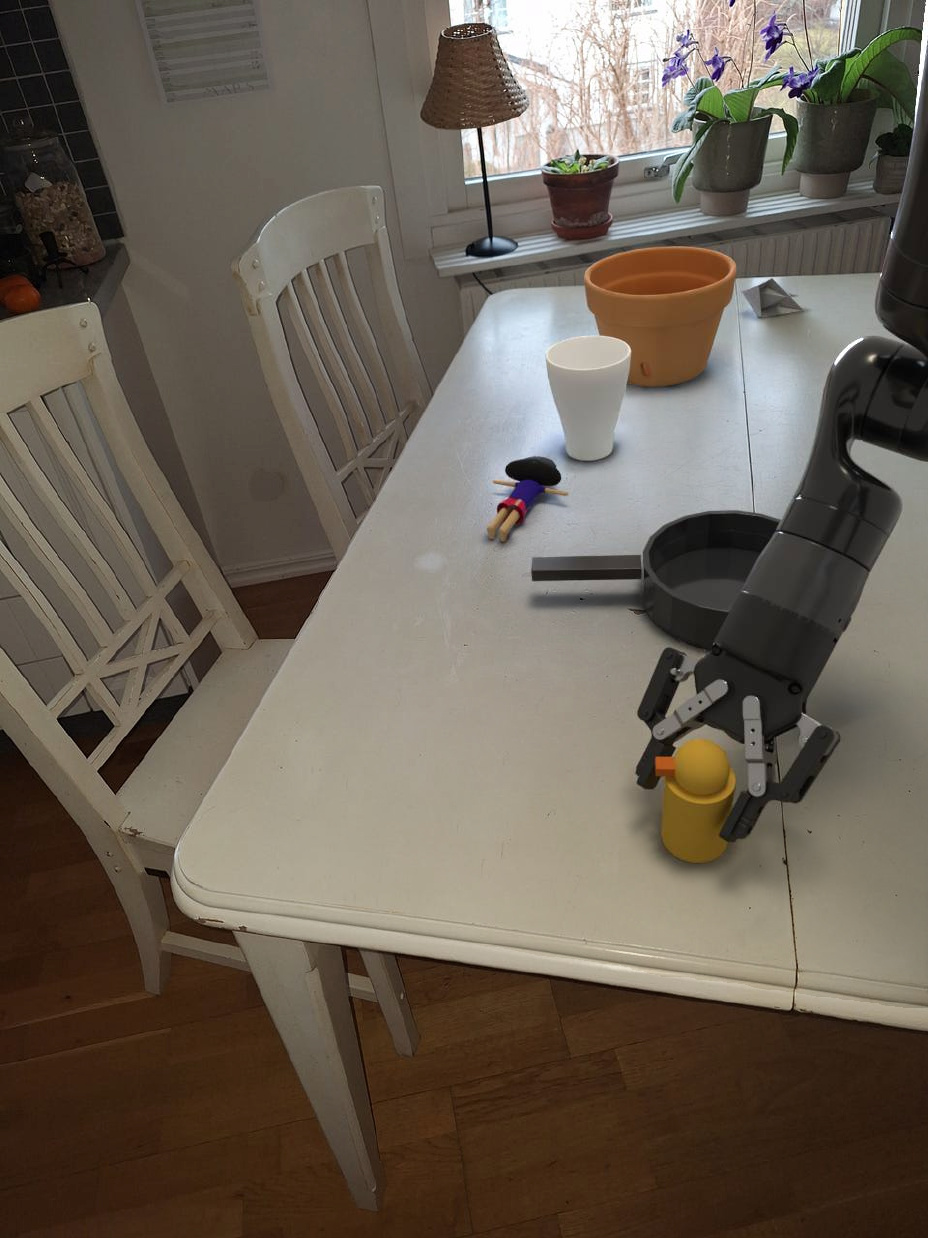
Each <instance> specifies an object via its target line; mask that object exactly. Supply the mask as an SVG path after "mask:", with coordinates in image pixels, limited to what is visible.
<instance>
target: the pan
mask: <svg viewBox="0 0 928 1238" xmlns="http://www.w3.org/2000/svg"><path fill="white" fill-rule="evenodd" d="M780 521H781V519H780V518H776V517H773V516H770V515H768V514H764V513H759V512H752V511H745V510H738V509H727V510H725V509H724V510H722V509H721V510H705V511H702V512H697V513H692V514H686V515H683V516H680V517H679V518H676V519H674V520H672V521H670V522H667V523H665V524H663V525H662V526H661V527H660V528H658V529H657V530H656V531H655V532H653V533H652V534H651V535H650V536H649V538H648V540H647V541H646V543H645V546H644V548H643V550H642V557H641V566H642V575H641V594H642V595H641V599H642V604H643V605H642V606H643V607H644V609H645V612H646V614H647V615H648V616H649V618H650V619H651V621H653V623H654V624H655V625H656V626H657V627H659V628H660V629H661V630H662V631H664V632H665V633H666V634H668V635H670V637H672V638H675V639H677V640H678V641H681V642H683V643H686V644H688V645H691V646H694V647H697V648H701V649H706V650H709V651H710V650H711V649H712V646H713V643H714V641H715V639H716V637H717V635H718V633H719V631H720V629H721V627H722V625H723V623H724V621H725V619H726V617H727V615H728V613H729V612H730V610H731V608H732V606H733V604H734V602H735V600H736V598H737V596H738V594H739V592H740V590H741V589H742V587H743V585H744V583H745V581H746V579H747V577H748V575H749V573H750V571H751V569H752V567H753V565H754V564H755V562H756V560H757V558H758V557H759V555H760V554H761V552H762V551H763V549H764V548H765V547H766V545H767V544H768V542H769V541H770V539H771V538H772V536H773V534H774V533H775V532H776V529H777V527H778V525H779V523H780Z"/></svg>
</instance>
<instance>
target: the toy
mask: <svg viewBox="0 0 928 1238" xmlns="http://www.w3.org/2000/svg"><path fill="white" fill-rule="evenodd" d="M504 471H505V475H506V476H507V477H508V478H509V479H511V480H514V481H505V480H499V479H493V480H492V483H493V484H495V485H500V486H506V487H511V488H514V489H513V490H512V491H511V493H510V494H509V496H508V497H507V498H505V499H503V500H502V501H500V502H499V503H498V504H497V505H496V513H497V514H496V515H495V516H494V517H493V519H492V520H491V521H490V523H489V524H488V526H487V528H486V531H487V535H488V539H489V540H494V539H495V536H496V532H497V530H498V536H499V540H500V541H501V542H503V543H504V542H506V540H507V535H508V534H509V532H510V531H511V529H512V528H513V527H514V525H516V526H520V525H522V524H523V522H524V520H525V518H526V513H527V511H528V510H529V508H530V507H531V506H532V505H533V503H534V502H535V500H536V499H537V498H538V497H539V496H540V495H541V494H552V495H559V496H563V497H564V496H565V497H567V496H569V494H570V493H569V492H568V491H563V490H559V489H553V488H550V487H554V486H555V487H556V486H557V485H559V484H560V483H561V481H562V473H561V472H560V471H559V469H558V468H557V464H556V463H555V462H554V460H553V459H551V458H549V457H546V456H537V455H533V456H529V457H524V458H520V459H516V460H512V461H510V462H509V463H508V464H506V466H505V468H504ZM515 481H516V482H515ZM500 525H501V526H500ZM498 528H499V529H498Z"/></svg>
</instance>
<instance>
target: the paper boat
mask: <svg viewBox="0 0 928 1238" xmlns="http://www.w3.org/2000/svg"><path fill="white" fill-rule="evenodd" d="M741 293H742V294H743V296H744V298H745V299H746V301H747V302H748V304H749V306H750V308H751V309H752V311H753V312H754V314H755V315H756V317H758V318H766V317H773V316H779V315H785V314H790V313H797V312H801V311H804V309H803V308H802V307H801V306H800V305H799V303H797V302H796V301H795V299H793V298H795V297H799V295H797V294H794V293H790V292H789V293H787V292H786V290H785V289H784V288H782V286H781V285H780V284H779V283H778V282H777V281H776V280H775V279H774V278H773V277H771V278H769V279H767V280H764V281H762V282H760V283H757V284H754V285H753V286H751V287H748V288H745V289H743V290H741Z"/></svg>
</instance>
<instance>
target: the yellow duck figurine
mask: <svg viewBox="0 0 928 1238" xmlns="http://www.w3.org/2000/svg"><path fill="white" fill-rule="evenodd" d="M655 772H656V776H661V777H664V781H663V794H662V795H663V798H662V814H661V830H660V831H661V832H660V834H661V840H662V843H663V845H664V846H665V848H666V849H667V850H668V851H669V853H670V854H672V855H673V856H674V857H676V858H678V860H682V861H684V862H687V863H692V864H704V863H709V862H712V861H715V860H717V859H719V857H721V856H722V854H724V852H725V851H726V849H727V847H728V843H729V842H727V841H725V840H723V839H722V838H720V837H719V833H720V831H721V829H722V827H723V825H724V823H725V821H726V819H727V818H728V816H729V814H730V812H731V810H732V808H733V806H734V800H735V799H734V798H735V794H736V793H735V791H736V785H737V776H736V773H735V770H734V769H733V767H732V766H731V764H730V759H729V757H728V755H727V753H726V751H725V750H724V749H723V748H722V747H721V746H720V745H719V744H718V743H716V742H715V741H712V740H709V739H706V738H694V739H691V740H688V741H686V742H684V743H683V744H681V745H680V746H679V747H678V749H677V750H676V752H674V756H672V757H655Z"/></svg>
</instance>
